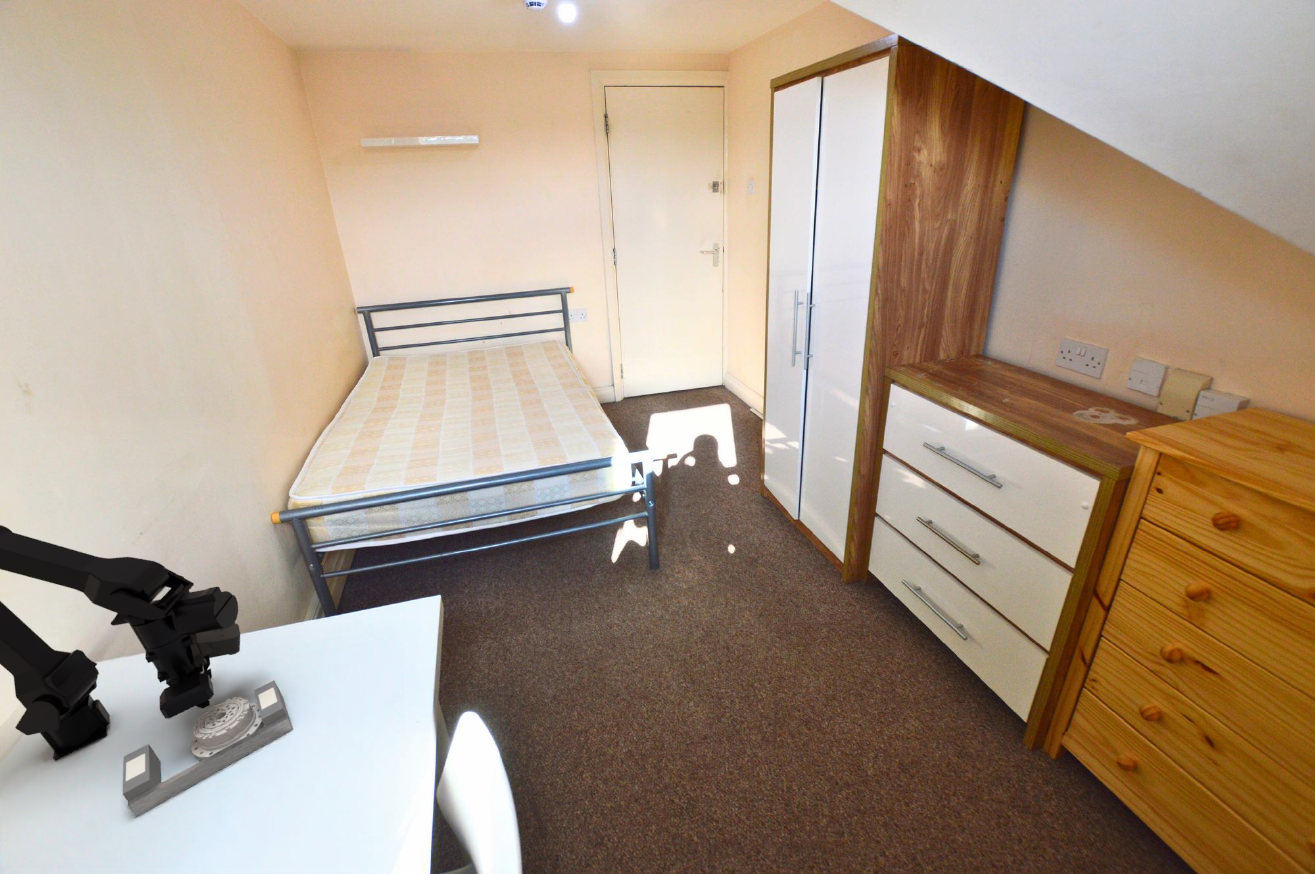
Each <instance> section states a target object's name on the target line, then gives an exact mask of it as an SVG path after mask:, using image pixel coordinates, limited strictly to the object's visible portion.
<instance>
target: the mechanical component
mask: <svg viewBox="0 0 1315 874" xmlns="http://www.w3.org/2000/svg"><path fill="white" fill-rule="evenodd" d="M263 727H265V725H264V724H263V722H262V720H261V716H260V712H259V708H258V704H257V702H256V703H255V702H249V700H247V699H245V698H242V696H239V697H235V696H234V697H232V699H231V697H230V698H227V699H226V700H225V701H223V702H220V703H216V704H214V705H213V707H212V708H210V709H209V710H208V711H207V712H203V713H201V717H198V718H197V722H195V723H194V729H193V735H194V737H193V738H192V741H191V745H190V749H191V752H192V754H193V756H194V757H195V759H197V760H198V761H199V762H200V761H202V760H204V759H206V758H208V757H209V756H211V755H213V754H215V753H217V752H219V751H220V750H222V749H224V748H226V747H228V746H230V745H232V744H233V743H235V742H237V741H239V740H241V739H243V738H244V737H246V736H248V735H250V734H252V733H254V732H255V731H257V730H259V729H261V728H263Z"/></svg>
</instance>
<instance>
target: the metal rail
mask: <svg viewBox="0 0 1315 874" xmlns="http://www.w3.org/2000/svg"><path fill="white" fill-rule="evenodd" d="M290 721H291V720H290ZM290 721H289V719H288V717H287V715H285V716H283V717H281V718H279V719H277V720H276V721H274V722H272V723H270V724H268V725H266V726H265V725H264V727H263V728H261V729H259V730H257V731H255V732H254V733H252V734H250V735H248V736H246V737H244V738H243V739H241V740H239V741H237V742H235V743H233V744H232V745H230V746H228V747H226V748H224V749H222V750H220V751H219V752H217V753H215V754H213V755H211V756H209V757H208V758H206V759H204V760H202V761H200V760H199V761H198V762H197V763H195V764H193V765H191V766H190V767H188V768H186V769H184V770H182V771H180V772H178V773H176V774H175V775H173V776H171V777H169V778H167V779H165V780H163V781H161V783H160V784H158V785H156V786H154V787H152V788H151V789H149V790H147V791H145V792H143V793H141V794H140V795H138V796H136V797H134V798H132V799H130V800H129V801H127V808H128V809H129V810H130V811H131V813H132V814H133V816H134V817H135V818H137V817H139V816H141V815H143V814H145V813H146V812H148V811H150V810H151V809H153V808H155V807H157V806H159V805H160V804H163V803H165V802H166V801H168V800H169V799H171V798H173V797H174V796H176V795H177V796H178V794H180V793H183V792H184V791H186V790H187V789H189V788H191V787H193V786H194V785H197V784H198V783H200V782H201V781H203V780H205V779H207V778H209V777H211V776H212V775H214V774H216V773H218V772H220V771H221V770H223V769H225V768H226V767H228V766H230V765H232V764H234V763H236V762H237V761H240V759H243V758H245V757H247V756H248V755H249V754H251V753H254V752H255V751H257V750H259V749H261V748H262V747H265V746H266V745H268V744H269V743H272V742H273V741H275V740H277V739H278V738H280V737H281V736H282V737H283V736H284V735H285V734H287V733H289V732H290V731H293V730H294V729H293V725H292V722H291V723H290Z"/></svg>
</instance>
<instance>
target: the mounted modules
mask: <svg viewBox="0 0 1315 874" xmlns="http://www.w3.org/2000/svg"><path fill="white" fill-rule="evenodd" d="M253 691H254V692H253V693H254V694H255V695H254V696H255V699H256V703H257V704H258V708H259V712H260V716H261V720H262V722H263V724H264V727H265V726H266V725H268V724H270V723H272V722H274V721H276V720H277V719H279V718H281V717H283V716H285V715H287V717H288V719H289V721H290V723H291V724H292V721H291V719H290V716H289V712H288V709H287V706H286V702H285V699H284V696H283V694H282V692H281V690H280V688H279V686H278V684H277V683H276V680H275V679H273V680H272V681H269V682H268V683H266V684H264V685H261V686H260V687H258V688H256V689H254V690H253ZM122 762H123V768H122V795H123V797H124V799H126V801H127V802H128V801H129V800H130V799H132V798H134V797H136V796H138V795H140V794H141V793H143V792H145V791H147V790H149V789H151V788H152V787H154V786H156V785H158V784H160V783H162V768H161V767H162V765H161V760H160V759H159V757H158V755H157V754H156V752H155V751H154V749H153V748H152V747H151V745H150V744H149V743H147V744H145V745H144V746H142V747H140V748H138V749H135V750H133V751H132V752H129V753H128V754H126V755H124V756H123V761H122Z"/></svg>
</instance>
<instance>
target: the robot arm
mask: <svg viewBox="0 0 1315 874" xmlns="http://www.w3.org/2000/svg"><path fill="white" fill-rule="evenodd" d="M0 570H2V571H6V572H8V573H13V574H17V575H20V576H25V577H28V578H31V579H35V580H38V581H43V582H46V583H50V584H54V585H58V586H62V587H65V588H69V589H73V590H76V591H78V592H80V593H83V594H84V595H85V597H87V598H88V600H89V601H90V602H91V603H92V604H93V605H95V606H98V607H100V608H103V609H105V610H108V611H111V612H113V613H116V615H115V616H114V618H113V619H112V620H111V621H110V625H111V626H114V627H115V626H121V625H126V624H129V626H130V627H131V629H132V631H133V633H134V635H135V636H136V638H137V639H138V641H139V642H140V644H141V646H142V648H143V649H144V651H145V660H146V661H147V664H150V663H152V664H153V665H154V667H155V669H156V672H157V673H156V674H157V675H156V676H157V677H156V678H157V679H158V681H159V683H162V682H165V684H166V685H167V687H166V688H164V689H163V690H162V692H161V694H160V695H159V711H160V712H161V714H162V717H164V719H168V720H169V719H172V718H173V717H174V718H175V717H176V716H178V715H180V714H182V713H184V712H187V711H188V710H190V709H192V708H194V707H196V708H199V709H206V708H208V707H209V706H210V705H211V704H210V703H211V702H210V699H212V698H213V697H214V696H215V691H214V684H213V681H212V678H213V673H212V668H210V665H211V659H212V658H217V657H222V656H223V657H224V656H227V655H229V656H233V655H236V654H237V653H240V651H241V649H240V648H241V630H240V625H239V624H238V623H236V620H237V618H238V614H239V603H238V600H237V597H236V595H235V594H232V593H231V592H230V591H227V590H223V591H222V590H221V588H220V587H219V586H213V587H209V588H206V589H202V590H196V591H190V590H191V589H192V588H193V586H194V584H195V583H194V582H192V581H190V580H189V579H187V578H186V577H185V576H182V575H180V574H177V573H176V572H173V570H170V569H168V568H167V567H165V566H164V565H163V564H161V563H159V562H157V561H155V560H151V559H145V558H138V557H131V556H119V557H109V558H106V557H103V556H101V557H100V556H96V555H92V554H89V553H86V552H82V551H78V550H76V549H72V548H69V547H65V546H62V545H58V544H54V543H51V542H47V541H44V540H40V539H38V538H33V537H30V536H26V535H24V534H19V533H16V532H13V531H12V530H11V529H10V528H9V527H8V526H7V527H6V526H4V525H2V524H0ZM165 588H169V589H168V591H167V592H166V593H165V594H164V595H163V596H161V598H159V599H156V598H157V597H158V595H160V593H161V592H163V590H164V589H165ZM0 665H1V666H2V667H3V668H4V669H5V670H6V671H8V673H10V674H11V675H12V676H13V684H14V694H15V697H16V699H17V700H18V701H19V702H20V704H21V705H22V706H23V707H24V708H25V711H24V713H23V715H22V716H21V718H20V719H19V720H18V722H17V724H16V726H15V730H17V731H19V732H20V733H22V734H23V735H26V736H31V735H37V734H40V735H41V737H42V738H43V739H44V740H45V741H46V742H47V744H48V745H49V747H50V748H51V749H52V750H53V754H52V755H53V756H52V759H53V760H54V761H58V760H60V759H62V758H65V757H66V756H69V755H71V754H73V753H76V752H77V751H79V750H81V749H83V748H86V747H87V746H89V745H91V744H93V743H94V744H95V742H99V741H100V740H102V739H104V738H106V737H107V735H108V727H109V725H110V717H111V714H109V712H108V710H107V709H106V707H105V706H104V705H103V704H102V702H101V701H100V699H99V698H98V699H94V698H93V697H92V696H91V693H92V692H93V691H94V690H96V689H97V687H98V685H97V684H98V683H97V680H98V677H99V675H100V673H99V669H97V667H96V666H97V665H98V663H96V662H95V661H94V660H92V659H90V658H89V657H88V656H87V655H86V653H85V652H84V651H83V650H81V649H75V650H73V651H71V652H69V651H62V650H55V649H54V648H53V647H51V646H50V645H49V644H48V643H47V642H45V641H44V640H43V639H42V637H40V636H39V634H37V633H36V632H35V631H34V630H33V629H32V628H30V626H28V625H27V624H26V623H25V622H24V621H23V620H22V619H21V618H20V617H19V616H18V615H16V613H14V612H13V611H12V610H11V609H10V608H8V606H7V605H5V604H4V603H3V602H2V601H1V600H0Z"/></svg>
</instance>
